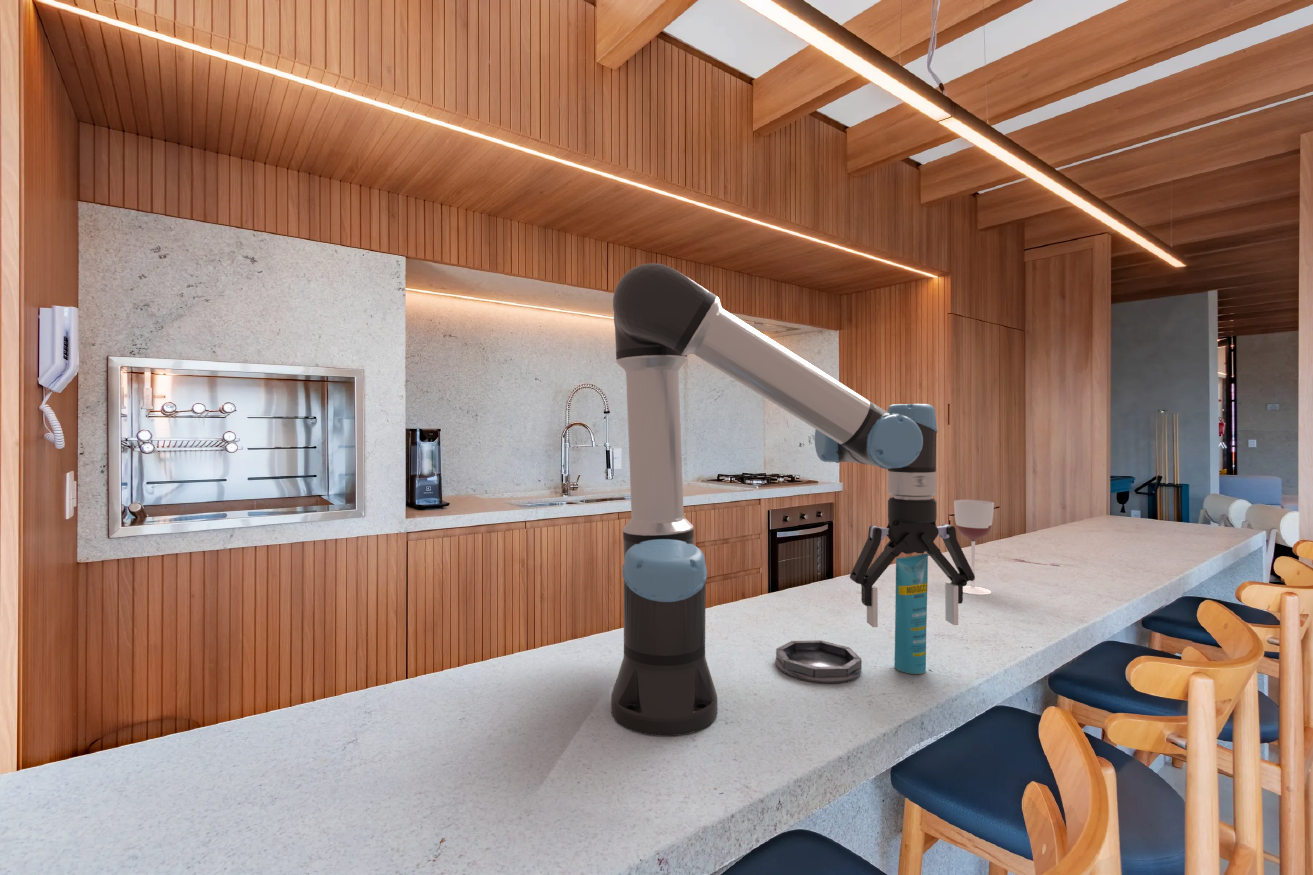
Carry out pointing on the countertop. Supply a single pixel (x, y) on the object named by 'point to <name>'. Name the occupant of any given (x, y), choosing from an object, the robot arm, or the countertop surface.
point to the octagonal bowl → (818, 662)
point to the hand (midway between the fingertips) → (912, 623)
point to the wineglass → (974, 529)
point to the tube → (911, 613)
